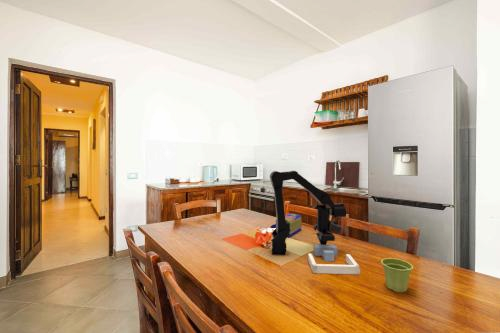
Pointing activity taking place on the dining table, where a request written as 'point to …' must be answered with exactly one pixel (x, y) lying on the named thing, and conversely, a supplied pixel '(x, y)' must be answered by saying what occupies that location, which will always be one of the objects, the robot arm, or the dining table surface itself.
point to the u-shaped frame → (335, 266)
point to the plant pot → (396, 274)
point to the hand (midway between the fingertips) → (323, 249)
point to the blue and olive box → (292, 223)
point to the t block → (325, 251)
